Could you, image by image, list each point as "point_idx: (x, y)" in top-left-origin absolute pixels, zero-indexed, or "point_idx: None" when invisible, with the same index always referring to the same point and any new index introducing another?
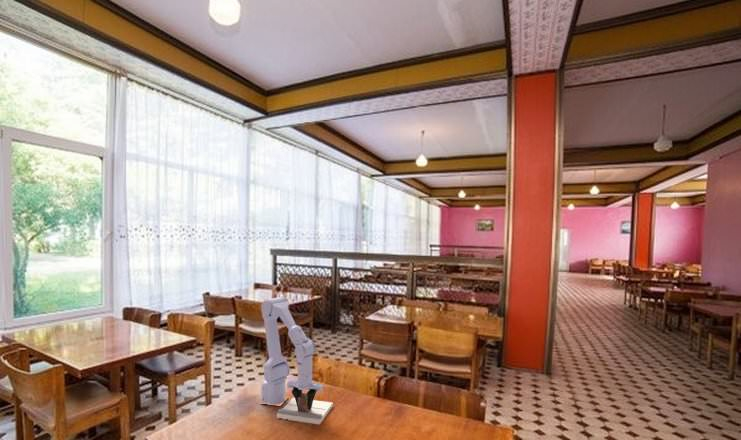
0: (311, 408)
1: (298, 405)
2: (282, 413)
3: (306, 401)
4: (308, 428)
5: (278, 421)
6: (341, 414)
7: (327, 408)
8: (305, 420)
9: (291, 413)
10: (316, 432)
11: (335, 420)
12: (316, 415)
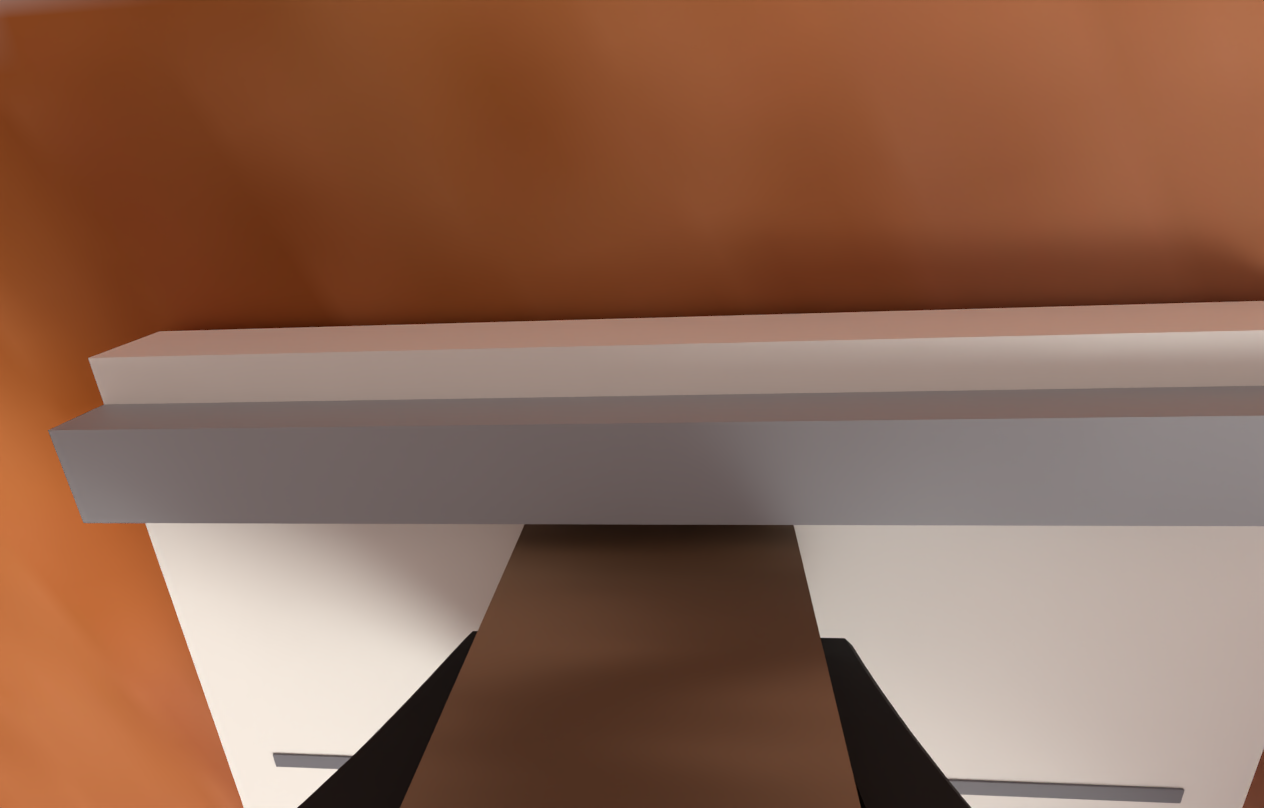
0: None
1: (794, 655)
2: (1232, 388)
3: (437, 797)
4: (305, 128)
5: (1210, 192)
6: (65, 725)
7: (257, 794)
8: (480, 333)
9: (931, 406)
10: (37, 26)
11: (22, 549)
12: (180, 456)
